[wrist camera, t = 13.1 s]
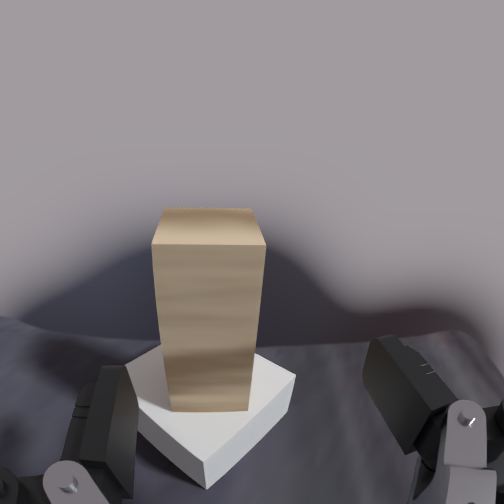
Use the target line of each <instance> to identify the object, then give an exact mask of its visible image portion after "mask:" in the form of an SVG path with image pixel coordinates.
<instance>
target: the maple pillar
mask: <svg viewBox="0 0 504 504" xmlns="http://www.w3.org/2000/svg"><path fill="white" fill-rule="evenodd" d="M265 252H266V244H265V241H264V238H263V236H262V233H261V231H260V229H259V226H258V224H257V221H256V219H255V216H254V214H253V211H252V209H238V208H164V211H163V214H162V216H161V219H160V222H159V224H158V227H157V230H156V233H155V236H154V238H153V241H152V259H153V272H154V284H155V294H156V304H157V314H158V321H159V331H160V338H161V346H162V353H163V360H164V367H165V374H166V380H167V386H168V392H169V398H170V403H171V409H172V412H237V411H248V407H249V399H250V390H251V381H252V373H253V364H254V355H255V346H256V337H257V327H258V319H259V310H260V300H261V290H262V281H263V272H264V262H265Z"/></svg>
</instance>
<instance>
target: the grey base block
mask: <svg viewBox="0 0 504 504" xmlns="http://www.w3.org/2000/svg"><path fill="white" fill-rule="evenodd" d="M125 366H126V367H127V370H128V373H129V376H130V379H131V382H132V385H133V387H134V390H135V393H136V396H137V399H138V405H139V420H138V431H139V432H140V433H141V434H142V435H143V436H144V437H145V438H146V439H147V440H148V441H149V442H150V443H151V444H152V445H153V446H155V447H156V448H157V449H158V450H159V451H160V452H161V453H162V454H163V455H164V456H166V457H167V458H168V459H169V460H170V461H171V462H172V463H174V464H175V465H176V466H177V467H178V468H180V469H181V470H182V471H183V472H184V473H186V474H187V475H188V476H189V477H191V478H192V479H193V480H194V481H196V482H197V483H198V484H199V485H201V486H202V487H203V488H205V489H206V490H207V489H208V488H209V487H210V486H212V485H213V484H214V483H215V482H216V481H217V480H218V479H219V478H221V477H222V476H223V475H224V474H225V473H226V472H227V471H228V470H229V469H230V468H232V467H233V466H234V465H235V464H236V463H237V462H238V461H239V460H240V459H241V458H242V457H243V456H244V455H245V454H246V453H247V452H248V451H249V450H250V449H251V448H252V447H253V446H254V445H256V444H257V443H258V442H259V441H260V440H261V439H262V437H263V436H264V435H265V434H266V433H267V432H268V431H269V430H270V429H271V428H272V427H273V426H274V425H275V424H276V423H277V422H278V421H279V420H280V419H281V418H282V417H283V416H284V415H285V413H286V412H287V410H288V406H289V402H290V398H291V394H292V390H293V386H294V382H295V377H296V375H295V374H293V373H291V372H289V371H287V370H285V369H283V368H281V367H280V366H278V365H276V364H274V363H272V362H270V361H268V360H266V359H265V358H263V357H261V356H259V355H257V354H255V355H254V364H253V373H252V381H251V390H250V399H249V407H248V411H237V412H172V409H171V403H170V398H169V392H168V386H167V380H166V374H165V367H164V360H163V353H162V346H161V345H159V346H158V347H156V348H154V349H152V350H151V351H149V352H147V353H145V354H143V355H142V356H140V357H138V358H136V359H135V360H133V361H131V362H129V363H127V364H126V365H125Z"/></svg>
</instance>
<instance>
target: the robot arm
mask: <svg viewBox="0 0 504 504" xmlns="http://www.w3.org/2000/svg"><path fill="white" fill-rule="evenodd" d="M362 378H363V383H364V386H365V388H366V390H367V391H368V393H369V395H370V396H371V398H372V400H373V401H374V403H375V405H376V406H377V408H378V410H379V411H380V413H381V415H382V416H383V418H384V420H385V421H386V423H387V425H388V427H389V428H390V430H391V432H392V433H393V435H394V437H395V438H396V440H397V442H398V444H399V445H400V447H401V449H402V450H403V452H404V454H405V455H407V454H409V453H412V452H414V451H418V453H419V457H418V459H417V462H416V467H415V472H414V477H413V481H412V485H411V490H410V494H409V498H408V501H407V504H504V399H503V401H502V402H501V404H500V405H499V406H494V407H488V408H481V407H480V406H479V405H478V404H476V403H474V402H472V401H469V400H458V399H457V398H456V397H455V395H454V394H453V393H452V392H451V390H450V389H449V388H448V387H447V386H446V384H445V383H444V382H443V381H442V379H441V378H440V377H439V376H438V375H437V374H436V372H434V370H433V369H432V368H431V366H430V365H429V364H428V365H427V362H426V361H425V359H424V358H423V357H422V356H421V355H420V354H419V353H418V352H417V351H415V350H414V349H412V348H410V347H409V346H404V345H403V344H402V343H401V342H400V341H399V340H398V338H397V337H396V336H394V335H387V336H382V337H378V338H374V339H372V340H371V342H370V345H369V349H368V353H367V356H366V360H365V364H364V368H363V372H362ZM75 406H76V408H74V411H73V415H72V417H73V418H72V419H71V422H70V426H69V429H68V433H67V437H66V441H65V445H64V449H63V453H62V457H61V460H60V461H59V462H57V463H54V464H53V465H51V466H50V467H49V468H48V469H47V471H46V472H45V474H44V475H39V476H31V477H21V478H17V477H16V476H15V475H14V474H13V473H12V472H10V471H9V470H7V469H5V468H0V504H121V502H122V498H124V499H133V484H134V467H135V453H136V441H137V430H138V420H139V405H138V399H137V396H136V393H135V390H134V387H133V385H132V382H131V379H130V376H129V373H128V370H127V367H126V366H125V365H103V366H102V367H101V369H100V372H99V375H98V379H97V381H88V382H87V384H86V385H85V386H84V387H83V388H82V390H81V391H80V392H79V394H78V398H77V401H76V404H75Z"/></svg>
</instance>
